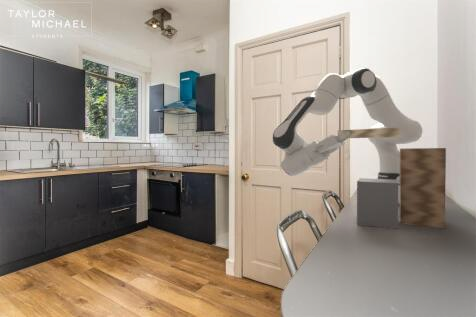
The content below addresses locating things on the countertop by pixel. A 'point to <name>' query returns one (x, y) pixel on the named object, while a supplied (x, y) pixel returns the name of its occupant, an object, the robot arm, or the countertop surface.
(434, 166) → the pedestal
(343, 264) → the countertop surface
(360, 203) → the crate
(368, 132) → the bar
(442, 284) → the countertop surface
